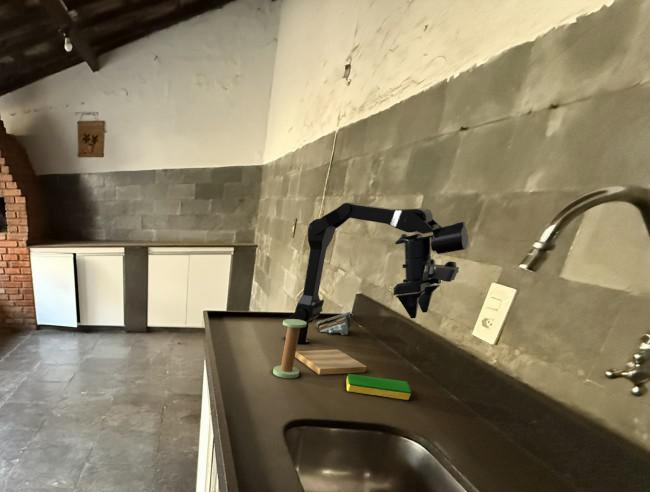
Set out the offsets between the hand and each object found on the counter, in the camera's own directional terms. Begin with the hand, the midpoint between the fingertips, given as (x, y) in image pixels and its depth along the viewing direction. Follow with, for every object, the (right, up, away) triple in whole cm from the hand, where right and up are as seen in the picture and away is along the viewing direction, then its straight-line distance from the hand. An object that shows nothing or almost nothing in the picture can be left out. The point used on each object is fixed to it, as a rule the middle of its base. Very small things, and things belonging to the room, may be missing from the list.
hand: (419, 315), depth 117 cm
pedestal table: (-36, -16, +4) cm, 40 cm away
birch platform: (-20, -13, +10) cm, 26 cm away
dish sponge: (-17, -21, -7) cm, 28 cm away
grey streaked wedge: (-4, +1, +39) cm, 39 cm away
